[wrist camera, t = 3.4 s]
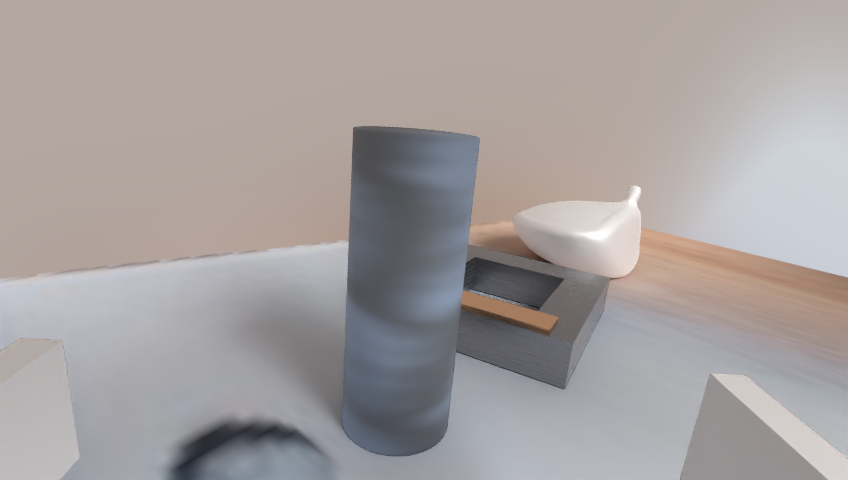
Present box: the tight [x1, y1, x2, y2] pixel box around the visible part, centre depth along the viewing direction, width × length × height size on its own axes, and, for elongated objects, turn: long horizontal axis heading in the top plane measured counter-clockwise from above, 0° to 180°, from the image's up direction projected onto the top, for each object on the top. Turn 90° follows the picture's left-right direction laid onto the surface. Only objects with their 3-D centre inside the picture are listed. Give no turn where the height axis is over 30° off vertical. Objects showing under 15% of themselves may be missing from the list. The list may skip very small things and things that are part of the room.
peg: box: [342, 126, 480, 456], centre depth 19 cm, size 4×4×12 cm
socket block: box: [456, 245, 610, 389], centre depth 31 cm, size 12×12×3 cm
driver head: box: [512, 185, 641, 278], centre depth 43 cm, size 10×11×12 cm
